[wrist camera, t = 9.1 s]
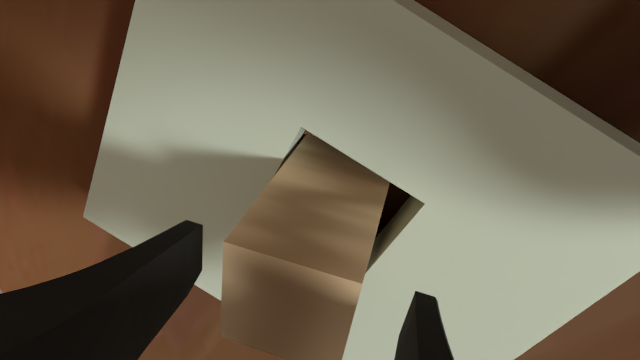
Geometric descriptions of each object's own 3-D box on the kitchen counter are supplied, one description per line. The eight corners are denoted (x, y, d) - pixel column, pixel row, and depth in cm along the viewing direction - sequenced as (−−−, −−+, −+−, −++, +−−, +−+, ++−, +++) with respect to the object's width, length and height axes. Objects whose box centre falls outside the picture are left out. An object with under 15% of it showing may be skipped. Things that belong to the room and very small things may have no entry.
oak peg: (396, 156, 18) (362, 283, 11) (376, 231, 20) (337, 376, 13) (306, 134, 19) (223, 241, 12) (296, 208, 21) (219, 336, 14)
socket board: (688, 173, 15) (725, 210, 13) (426, 380, 24) (423, 423, 22) (209, -129, 15) (169, -142, 13) (116, 192, 23) (82, 216, 21)
